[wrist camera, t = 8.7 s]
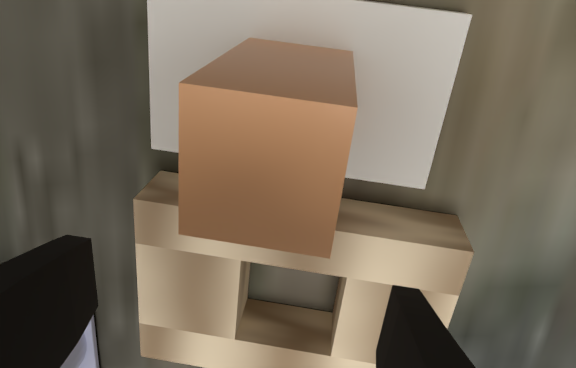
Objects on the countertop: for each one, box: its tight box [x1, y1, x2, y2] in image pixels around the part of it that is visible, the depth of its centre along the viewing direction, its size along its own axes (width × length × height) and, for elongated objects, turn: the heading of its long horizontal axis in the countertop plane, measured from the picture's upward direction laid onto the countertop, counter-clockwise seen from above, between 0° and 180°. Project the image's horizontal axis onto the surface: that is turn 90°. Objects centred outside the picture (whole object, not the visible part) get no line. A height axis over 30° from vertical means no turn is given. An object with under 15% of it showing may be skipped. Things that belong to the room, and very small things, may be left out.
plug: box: [178, 38, 358, 259], centre depth 14 cm, size 4×4×8 cm
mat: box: [147, 0, 472, 189], centre depth 18 cm, size 12×7×1 cm, turn 84°
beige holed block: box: [133, 171, 474, 368], centre depth 21 cm, size 14×9×3 cm, turn 84°
